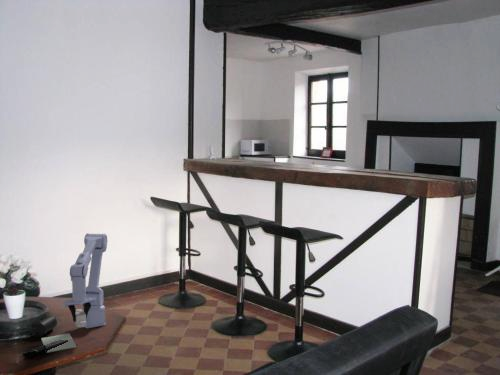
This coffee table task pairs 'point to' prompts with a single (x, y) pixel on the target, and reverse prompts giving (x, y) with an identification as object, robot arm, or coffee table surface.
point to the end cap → (43, 325)
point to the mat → (56, 338)
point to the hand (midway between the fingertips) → (79, 320)
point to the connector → (80, 318)
